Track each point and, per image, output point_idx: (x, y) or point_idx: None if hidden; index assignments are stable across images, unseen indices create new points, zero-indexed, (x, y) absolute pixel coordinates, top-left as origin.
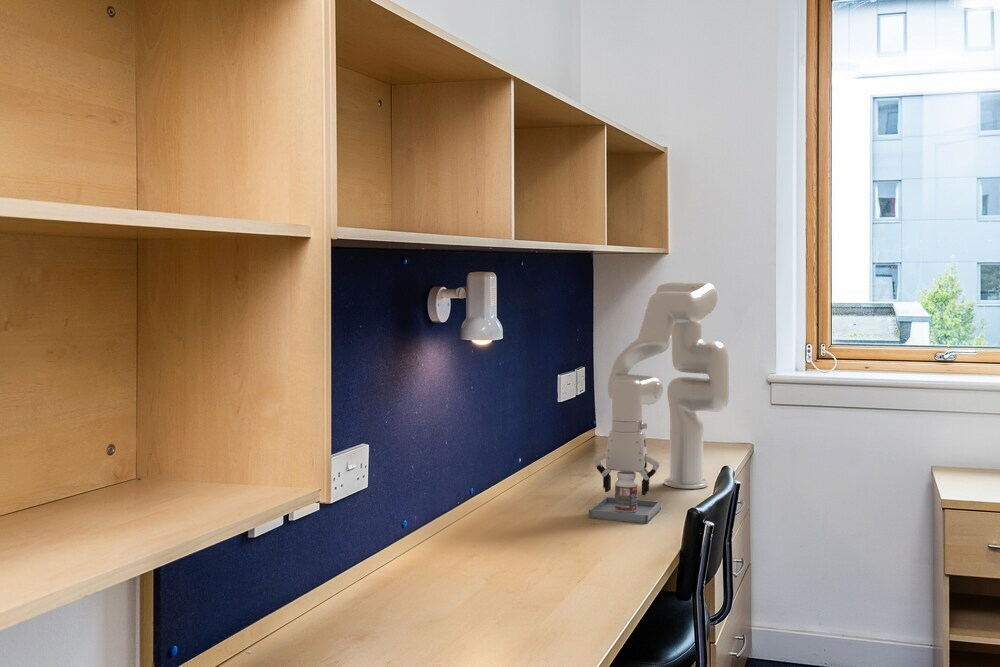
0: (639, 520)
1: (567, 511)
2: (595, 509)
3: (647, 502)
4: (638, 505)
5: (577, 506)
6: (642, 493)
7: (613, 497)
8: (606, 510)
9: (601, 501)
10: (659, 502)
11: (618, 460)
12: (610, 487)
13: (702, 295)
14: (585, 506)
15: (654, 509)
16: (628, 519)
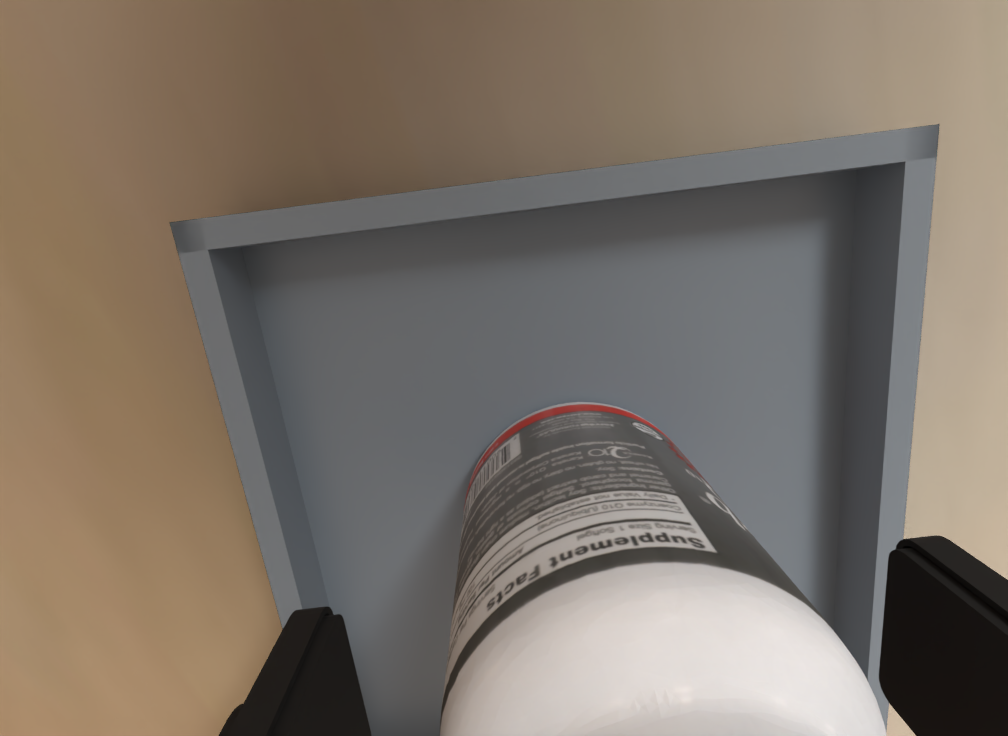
0: None
1: (89, 661)
2: None
3: (746, 182)
4: (621, 210)
5: (42, 465)
6: (909, 716)
7: (284, 221)
8: (402, 568)
9: (265, 489)
10: (923, 192)
11: None
12: (330, 644)
13: None
14: (106, 427)
15: (897, 493)
16: None
